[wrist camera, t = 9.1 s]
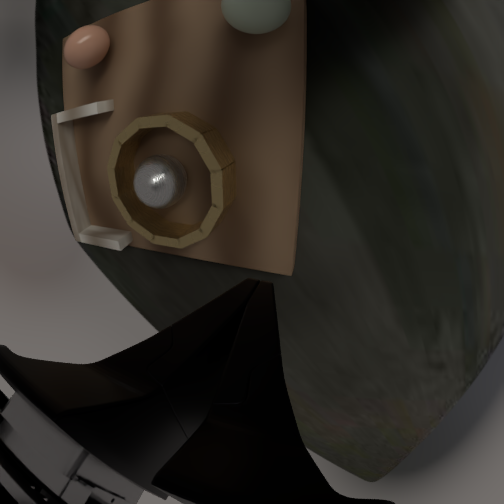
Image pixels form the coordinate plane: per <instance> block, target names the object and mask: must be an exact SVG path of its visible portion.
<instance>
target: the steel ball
mask: <svg viewBox="0 0 504 504" xmlns="http://www.w3.org/2000/svg"><path fill="white" fill-rule="evenodd" d="M186 186H187V174H186V171H185V169H184V167H183V165H182V164H181V163H180V162H179V161H178V160H177V159H176V158H174V157H172V156H170V155H166V154H157V155H153V156H150V157H148V158H147V159H145V160H144V161H143V162H142V163H141V164H140V165H139V166H138V168H137V169H136V171H135V174H134V178H133V187H134V191H135V193H136V195H137V197H138V199H139V200H140V201H141V202H142V203H143V204H145V205H147V206H149V207H151V208H156V209H162V208H167V207H170V206H172V205H174V204H175V203H176V202H178V201H179V200H180V199H181V197H182V196H183V194H184V192H185V190H186Z"/></svg>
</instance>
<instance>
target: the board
mask: <svg viewBox="0 0 504 504" xmlns="http://www.w3.org/2000/svg"><path fill="white" fill-rule="evenodd" d="M221 1H222V0H150V1H147V2H144V3H141V4H139V5H136V6H133V7H130V8H128V9H125V10H123V11H120V12H118V13H115V14H113V15H110V16H108V17H106V18H103V19H101V20H99V21H97V22H95V23H93V24H90V25H97V26H100V27H102V28H103V29H105V30H106V31H107V33H108V35H109V38H110V47H109V50H108V52H107V54H106V56H105V57H104V58H103V60H102V61H101V62H99V63H98V64H97V65H95V66H93V67H91V68H87V69H76V68H73V67H71V66H70V65H69V64H68V63H67V62H66V60H65V58H64V46H65V43H66V41H67V39H68V38H69V36H70V35H69V36H67V37H65V38H64V39H63V96H64V110H65V111H63V112H60V113H57V114H53V115H51V119H52V128H53V137H54V144H55V151H56V157H57V163H58V169H59V174H60V179H61V184H62V189H63V194H64V198H65V202H66V207H67V211H68V215H69V219H70V222H71V226H72V230H73V233H74V237H75V240H76V241H79V242H83V243H88V244H92V245H97V246H101V247H106V248H110V249H115V250H119V251H121V250H122V249H123V248H125V247H126V246H127V245H128V246H133V247H138V248H143V249H148V250H153V251H158V252H163V253H169V254H174V255H179V256H184V257H189V258H195V259H200V260H205V261H211V262H216V263H222V264H227V265H233V266H238V267H244V268H249V269H255V270H260V271H266V272H272V273H277V274H283V275H289V276H292V273H293V270H294V264H295V254H296V243H297V232H298V221H299V208H300V195H301V181H302V166H303V148H304V129H305V104H306V63H307V10H306V0H291V11H290V14H289V17H288V18H287V20H286V21H285V22H284V23H283V24H282V25H281V26H280V27H279V28H277V29H275V30H273V31H271V32H268V33H263V34H249V33H245V32H242V31H239V30H237V29H235V28H234V27H233V26H231V25H230V24H229V23H228V22H227V21H226V19H225V18H224V16H223V13H222V9H221ZM183 111H187V112H190V113H191V114H193V115H195V116H197V117H198V118H200V119H202V120H204V121H205V122H207V123H209V124H211V125H212V126H214V127H216V128H217V129H218V131H219V132H220V134H221V136H222V138H223V139H224V141H225V143H226V144H227V146H228V148H229V150H230V151H231V153H232V155H233V157H234V159H235V161H236V198H235V200H234V201H233V203H232V205H231V206H230V208H229V210H228V211H227V213H226V215H225V216H224V218H223V220H222V221H221V223H220V224H219V225H218V226H217V227H216V228H215V229H214V230H213V232H212V233H211V234H210V235H209V236H208V237H207V238H205V239H202V240H200V241H198V242H195V243H193V244H191V245H188V246H186V247H184V248H181V249H180V248H175V247H169V246H164V245H158V244H153V243H152V242H150V241H149V240H147V239H146V238H145V237H143V236H142V235H141V234H139V233H138V232H137V231H135V230H134V229H133V228H131V227H130V226H129V225H128V224H127V222H126V221H125V219H124V217H123V216H122V214H121V212H120V211H119V209H118V208H117V206H116V204H115V203H114V201H113V198H112V195H111V190H110V184H109V178H108V171H107V168H108V167H107V165H108V161H109V158H110V154H111V150H112V147H113V143H114V140H115V138H116V137H117V136H118V135H119V134H120V133H121V132H122V131H123V130H124V129H125V128H126V127H127V126H128V125H129V124H131V123H132V122H133V121H134V120H135V119H136V118H139V117H143V116H148V115H153V114H159V113H170V112H183ZM157 154H166V155H170V156H172V157H174V158H176V159H177V160H178V161H179V162H180V163H181V164H182V165H183V167H184V169H185V171H186V174H187V186H186V190H185V192H184V194H183V196H182V197H181V199H180V200H179V201H178V202H176V203H175V204H174V205H172V206H170V207H167V208H162V209H156V208H151V207H150V208H151V209H152V210H154V211H155V212H157V213H158V214H159V215H161V216H162V217H164V218H165V219H166V220H168V221H169V222H175V223H183V224H190V225H193V224H195V223H198V222H200V221H202V220H204V219H205V217H206V215H207V213H208V212H209V210H210V208H211V206H212V194H211V175H210V171H209V169H208V167H207V166H206V164H205V162H204V160H203V159H202V157H201V155H200V154H199V152H198V150H197V148H196V147H195V145H194V143H193V142H191V141H190V140H188V139H186V138H185V137H183V136H181V135H180V134H178V133H176V132H175V131H173V130H171V129H170V128H168V127H155V128H153V129H152V130H151V131H150V132H149V133H147V134H146V135H145V136H144V137H143V138H141V141H140V144H139V147H138V150H137V152H136V155H135V158H134V169H135V171H136V169H137V168H138V166H139V165H140V164H141V163H142V162H143V161H144V160H145V159H147V158H148V157H150V156H153V155H157Z"/></svg>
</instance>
